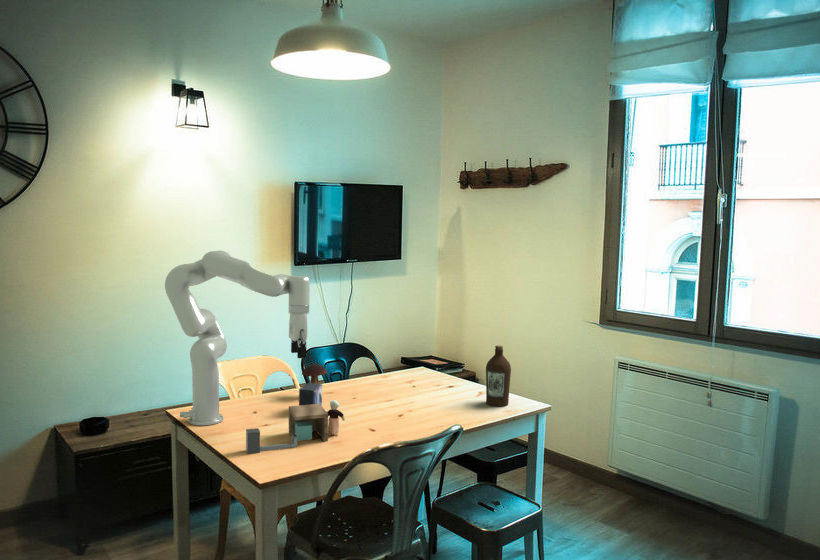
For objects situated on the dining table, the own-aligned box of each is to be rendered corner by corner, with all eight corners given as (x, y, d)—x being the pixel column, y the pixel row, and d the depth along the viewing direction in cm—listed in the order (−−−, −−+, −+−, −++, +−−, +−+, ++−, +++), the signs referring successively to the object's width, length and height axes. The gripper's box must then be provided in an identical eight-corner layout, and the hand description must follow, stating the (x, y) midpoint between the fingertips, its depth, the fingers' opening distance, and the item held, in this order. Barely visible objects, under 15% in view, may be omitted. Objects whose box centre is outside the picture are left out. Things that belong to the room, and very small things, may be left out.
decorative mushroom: (307, 402, 269) (307, 367, 268) (297, 395, 278) (298, 362, 277) (331, 399, 274) (331, 364, 273) (321, 393, 284) (321, 359, 283)
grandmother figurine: (322, 436, 226) (323, 401, 225) (323, 432, 230) (324, 398, 229) (344, 436, 227) (345, 401, 226) (345, 433, 231) (345, 398, 230)
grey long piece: (247, 454, 208) (247, 433, 207) (245, 447, 214) (245, 427, 213) (297, 448, 214) (298, 428, 213) (294, 442, 220) (294, 422, 219)
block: (297, 440, 222) (297, 426, 221) (294, 436, 226) (295, 422, 226) (311, 439, 224) (312, 425, 223) (308, 434, 228) (308, 421, 228)
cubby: (295, 444, 218) (295, 416, 217) (288, 432, 230) (288, 406, 229) (327, 441, 222) (328, 413, 221) (319, 429, 234) (319, 403, 233)
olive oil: (488, 399, 280) (489, 342, 277) (512, 402, 276) (514, 345, 274) (482, 405, 270) (483, 347, 267) (506, 408, 266) (508, 349, 264)
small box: (313, 416, 250) (313, 390, 249) (298, 414, 251) (298, 388, 250) (322, 408, 260) (323, 383, 259) (307, 407, 261) (307, 382, 261)
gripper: (283, 306, 241) (283, 351, 242) (294, 313, 225) (294, 360, 227) (303, 306, 244) (302, 350, 245) (315, 312, 228) (314, 359, 230)
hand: (298, 355), depth 236 cm, fingers open, 9 cm apart
